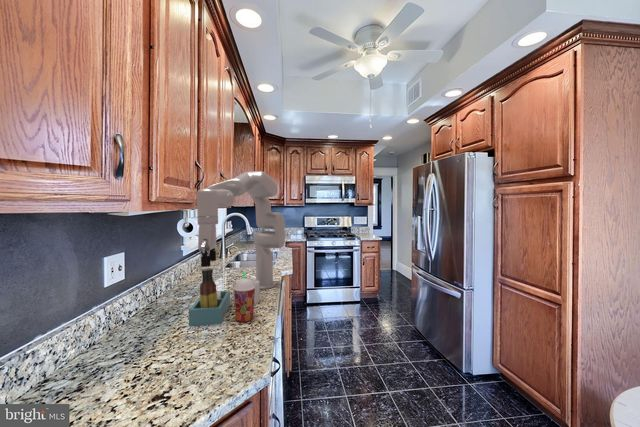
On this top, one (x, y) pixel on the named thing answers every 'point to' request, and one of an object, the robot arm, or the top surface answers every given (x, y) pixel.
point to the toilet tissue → (257, 290)
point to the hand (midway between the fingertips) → (209, 263)
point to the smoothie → (244, 299)
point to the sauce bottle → (208, 290)
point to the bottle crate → (209, 311)
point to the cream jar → (218, 295)
